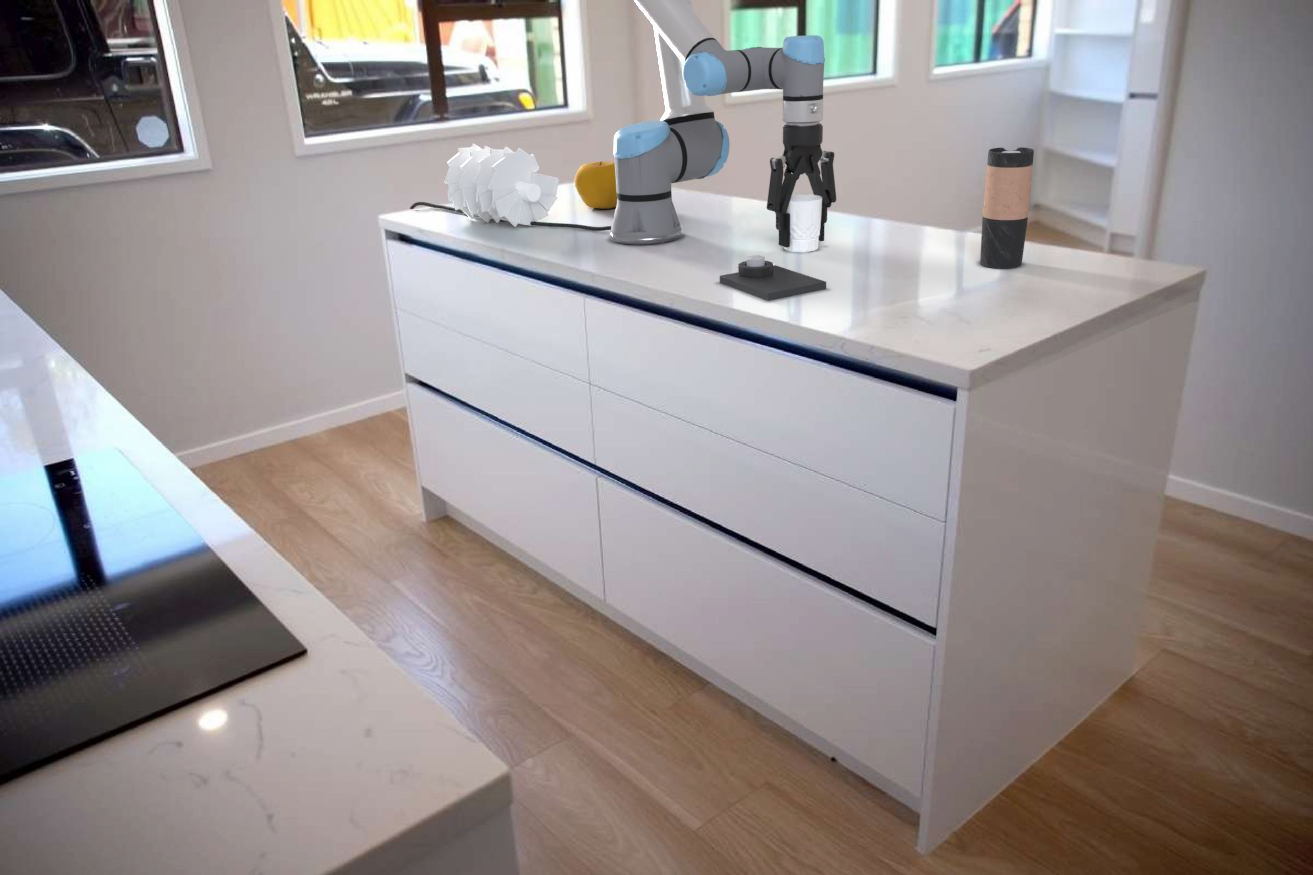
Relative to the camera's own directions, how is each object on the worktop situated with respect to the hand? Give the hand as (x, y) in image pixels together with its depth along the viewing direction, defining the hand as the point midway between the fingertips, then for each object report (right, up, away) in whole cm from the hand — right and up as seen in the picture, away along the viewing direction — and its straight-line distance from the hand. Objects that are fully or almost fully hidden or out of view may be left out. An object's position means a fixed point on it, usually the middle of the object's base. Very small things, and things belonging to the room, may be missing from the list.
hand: (801, 243), depth 198 cm
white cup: (0, -1, +1) cm, 1 cm away
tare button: (-11, -8, -22) cm, 26 cm away
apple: (-42, +18, +51) cm, 69 cm away
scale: (-9, -12, -25) cm, 29 cm away
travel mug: (+33, -7, -18) cm, 39 cm away
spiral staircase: (-65, +13, +40) cm, 78 cm away
